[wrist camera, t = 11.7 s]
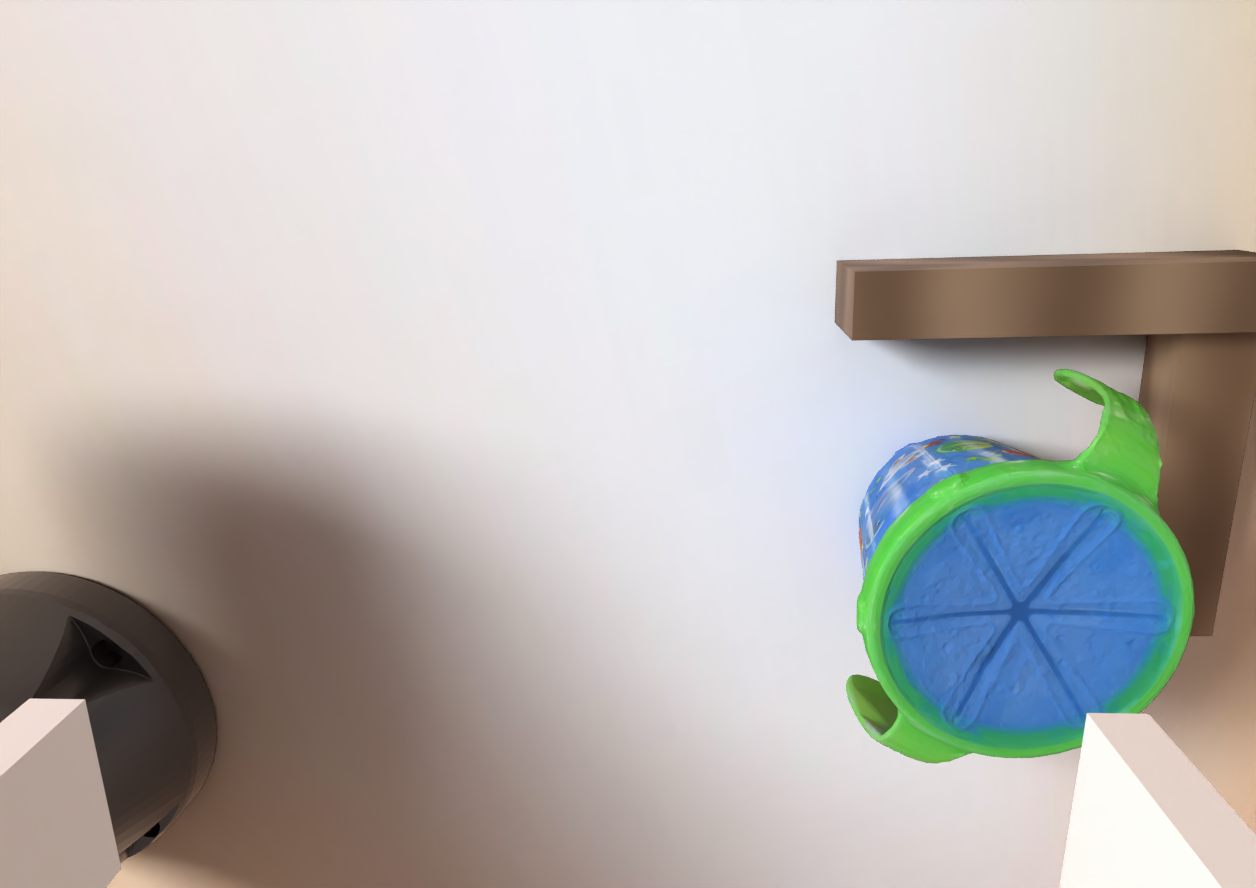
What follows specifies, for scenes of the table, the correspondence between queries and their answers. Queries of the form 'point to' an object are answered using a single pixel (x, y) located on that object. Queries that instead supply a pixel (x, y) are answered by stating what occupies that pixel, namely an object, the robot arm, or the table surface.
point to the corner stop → (1107, 305)
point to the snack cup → (1017, 590)
